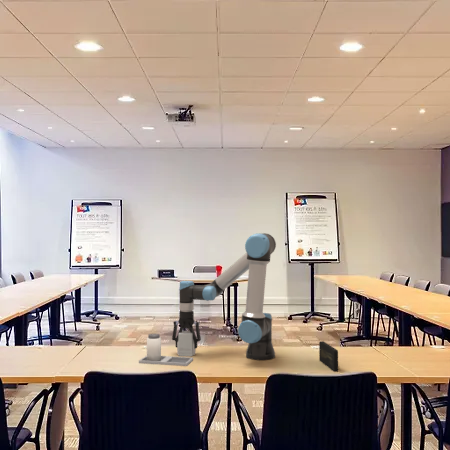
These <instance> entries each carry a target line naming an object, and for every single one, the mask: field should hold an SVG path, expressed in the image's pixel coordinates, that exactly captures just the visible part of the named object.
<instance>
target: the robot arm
mask: <svg viewBox="0 0 450 450" xmlns="http://www.w3.org/2000/svg"><path fill="white" fill-rule="evenodd" d="M276 247H277V242H276V240H275V238H274V237H273V236H272V235H271V234H270V233H264V232H263V233H262V232H261V233H253V234H252V235H250V236H248V238H247V239H246V241H245V244H244V248H245V249H244V250H245V253H244V254H243V255H242V256H240V258H238V259H237V260H236V261H235V262H234V263H232V265H230V266H229V267H228V268H226V270H224V272H222V273H220V275H218V276H217V277H215V279H213V281H212V282H210V283H207V284H204V285H203V284H202V285H200V284H199V285H197V284H195V282H194V281H193V280H182V281H180V282H179V289H178V291H179V293H178V294H179V303H178V305H179V307H178V308H179V312H178V315H179V319H178V320H174V321H173V329H172V330H173V331H172V337H171V340H172V341H174V342H175V348H177V350H176V351H177V353H176V354H177V355H179V352H178V334H179V333H181V332H182V331H184V330H185V329H188V331H190V332H191V333H193V340H194V342H193V356H195V355H196V351H197V350H196V349H197V348H198V342H200V341H201V340H202V338H201V331H200V321H195V319H194V318H195V317H194V314H195V311H194V309H195V307H194V305H195V303H194V301H195V300H196V301H199V300H200V301H207V302H208V301H215V299H216V298H217V297H219V296H221V294H223V292H224V291H225V290H226V289H227V288H228V287H230V286H231V285H233V283H234V282H236V281H237V280H238V279H239V278H241V276H243V275H244V274H245V273H247V272H248V276H247V277H248V279H247V289H246V301H245V310H244V312H242V314H241V322H240V324H239V325H238V328H237V333H238V336H239V338H240V339H241V340H242V341H243V342H245V343H247V344H248V345H247V348H246V351H245V357H246V358H247V359H248V360H249V359H250V360H254V361H255V360H256V361H267V360H272V359H275V357H276V352H275V348H274V345H273V342H272V341H273V340H272V337H273V336H272V334H273V331H272V327H273V325H272V324H273V323H272V321H273V317H272V314H271V313H269V312H264V300H265V287H266V277H267V266H268V264H269V263H271V255H272V254H273V253H274V252H275V250H276ZM178 325H180V327H179V330H178ZM193 325H194V326H195V330H194V326H193ZM177 330H178V331H177ZM177 332H178V333H177ZM195 332H196V333H195Z"/></svg>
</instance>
